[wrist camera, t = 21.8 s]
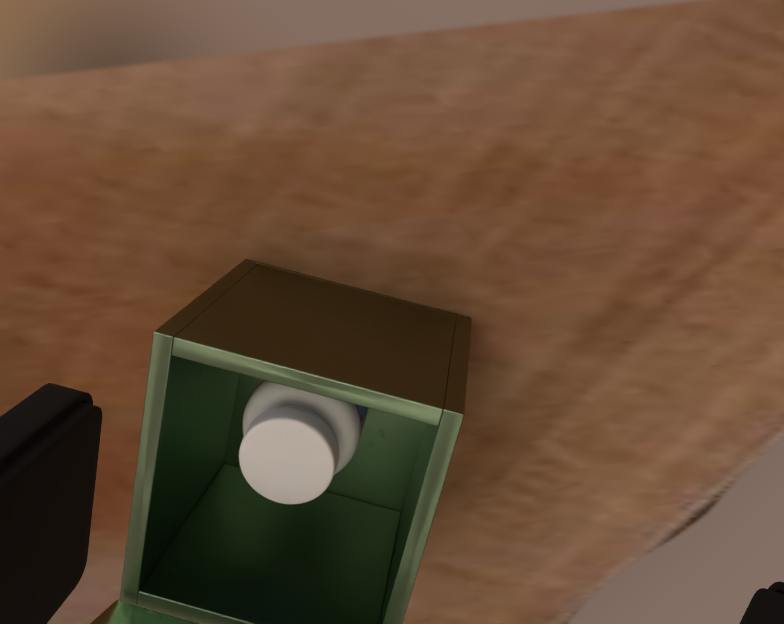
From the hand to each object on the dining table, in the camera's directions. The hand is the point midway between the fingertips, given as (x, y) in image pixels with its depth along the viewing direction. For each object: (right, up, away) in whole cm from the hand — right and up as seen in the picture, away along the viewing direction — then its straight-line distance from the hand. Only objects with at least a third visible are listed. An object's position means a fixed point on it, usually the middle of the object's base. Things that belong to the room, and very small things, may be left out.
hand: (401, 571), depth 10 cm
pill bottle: (-4, 0, +35) cm, 35 cm away
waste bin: (-4, -2, +36) cm, 37 cm away
